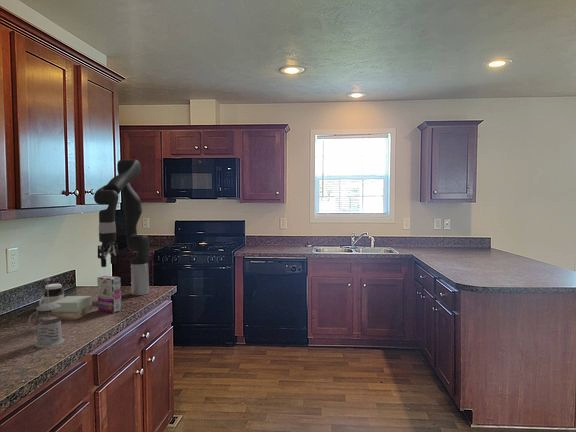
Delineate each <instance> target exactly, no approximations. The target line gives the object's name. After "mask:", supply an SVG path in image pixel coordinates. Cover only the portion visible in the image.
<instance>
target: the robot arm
mask: <svg viewBox="0 0 576 432" xmlns="http://www.w3.org/2000/svg"><path fill="white" fill-rule="evenodd" d="M116 167H117V168H116V169H117V175H116V176H114V177H112V178H111V179H110V180H109V182H107V184H105V185H102V186H101V187H100V188H98V189H97V190H96V191H95V192H94V196H93V200H94V202H95V203H96V204H97V205H100V206H103V205H104V206H105V205H107V207H106V209H105V208H104V209H101V210H99V212H98V242H100V243H101V244H100V245H97V259H100V266H101V267H102V268H106V267H107V256H108V255H110V257H109V258H110V264H111V265H115V264H116V261H117V260H116V256H117V255H118V254H119V247H118V242H117V226H116V225H117V224H116V211H117V206H118V203H119V198H120V197H119V194H120V193H121V195H122V204H123V213H124V218H125V227H126V228H125V232H126V233H125V234H126V237H125V238H126V245H127V246H126V247H127V249H128V250H129V251H131V252H137V254H136V255H137V256H134V257H132V258H131V259H130V277H131V278H130V279H131V280H130V283H131V284H130V285H131V295H132V296H144V295H147V294H149V293H150V281H149V280H150V277H149V274H150V273H149V272H150V271H149V258H150V238H149V236H148V235H145V234H137V233H138V232H137V226H138V225H137V224H138V222H139V219H140V218H141V216H142V212H143V207H142V201H141V198H140V196H139V195H138V194H137V192H136V191H135V190H134V188H133V187H132V186H131V183H130V182H132V181H133V180H134V179H135V178H136V177H138V176H139V175H140V174H141V171H142V169H141V168H142V167H141V163H140V161H139V160H138V159H131V158H130V159H120V160H118V161H117V166H116Z"/></svg>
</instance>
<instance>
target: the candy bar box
mask: <svg viewBox="0 0 576 432" xmlns="http://www.w3.org/2000/svg"><path fill="white" fill-rule="evenodd" d="M96 278H97V304H98V307H97V308H98V311H100V312H105V313H110V314H115V313H119V312H121V311H123V310H122V281H121V280H122V279H121V277H120V276H112V275H110V276H109V275H104V276H98V277H96Z"/></svg>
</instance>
